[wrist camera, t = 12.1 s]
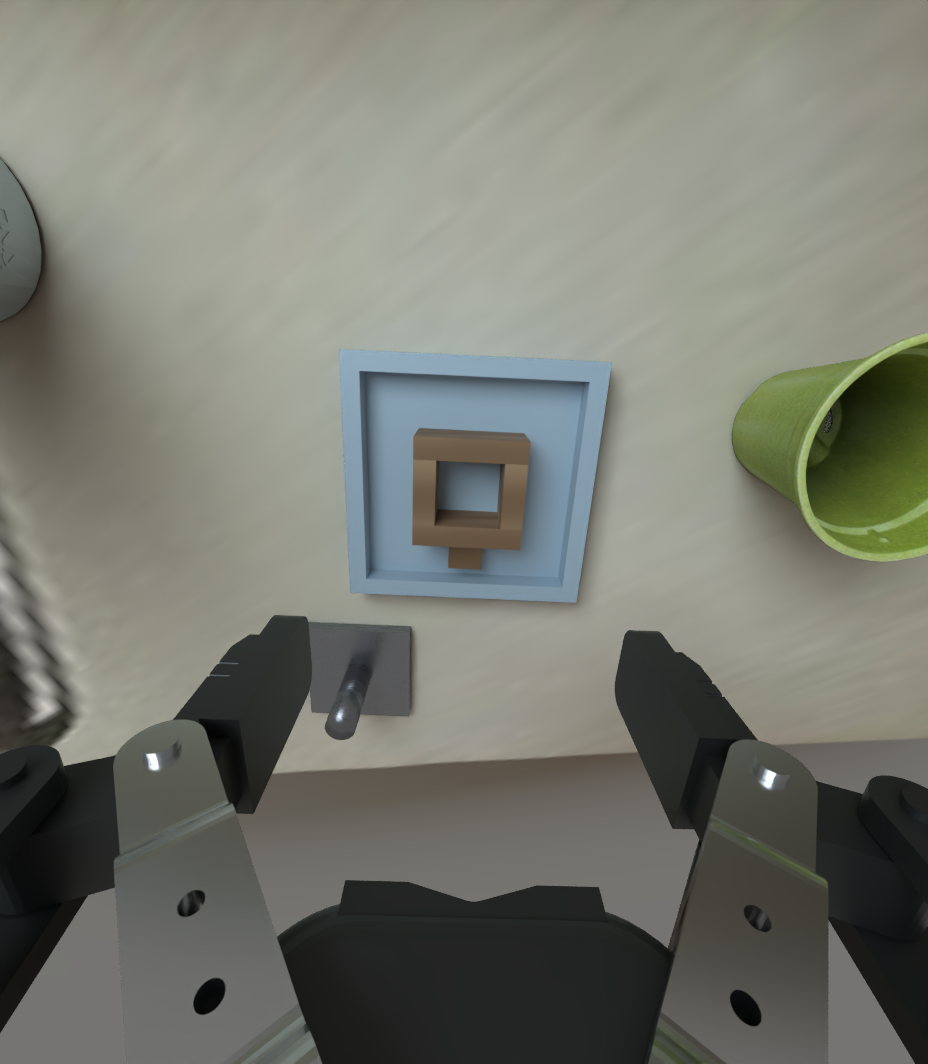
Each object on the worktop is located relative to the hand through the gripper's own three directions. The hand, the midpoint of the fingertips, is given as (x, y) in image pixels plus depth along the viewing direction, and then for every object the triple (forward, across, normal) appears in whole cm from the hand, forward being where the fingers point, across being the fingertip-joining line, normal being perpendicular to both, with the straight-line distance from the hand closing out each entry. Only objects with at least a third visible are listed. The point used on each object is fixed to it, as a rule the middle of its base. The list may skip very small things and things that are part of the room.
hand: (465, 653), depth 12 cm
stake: (+18, +7, +14) cm, 23 cm away
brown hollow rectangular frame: (+17, 0, 0) cm, 17 cm away
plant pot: (+17, -18, -4) cm, 26 cm away
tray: (+17, 0, 0) cm, 17 cm away
